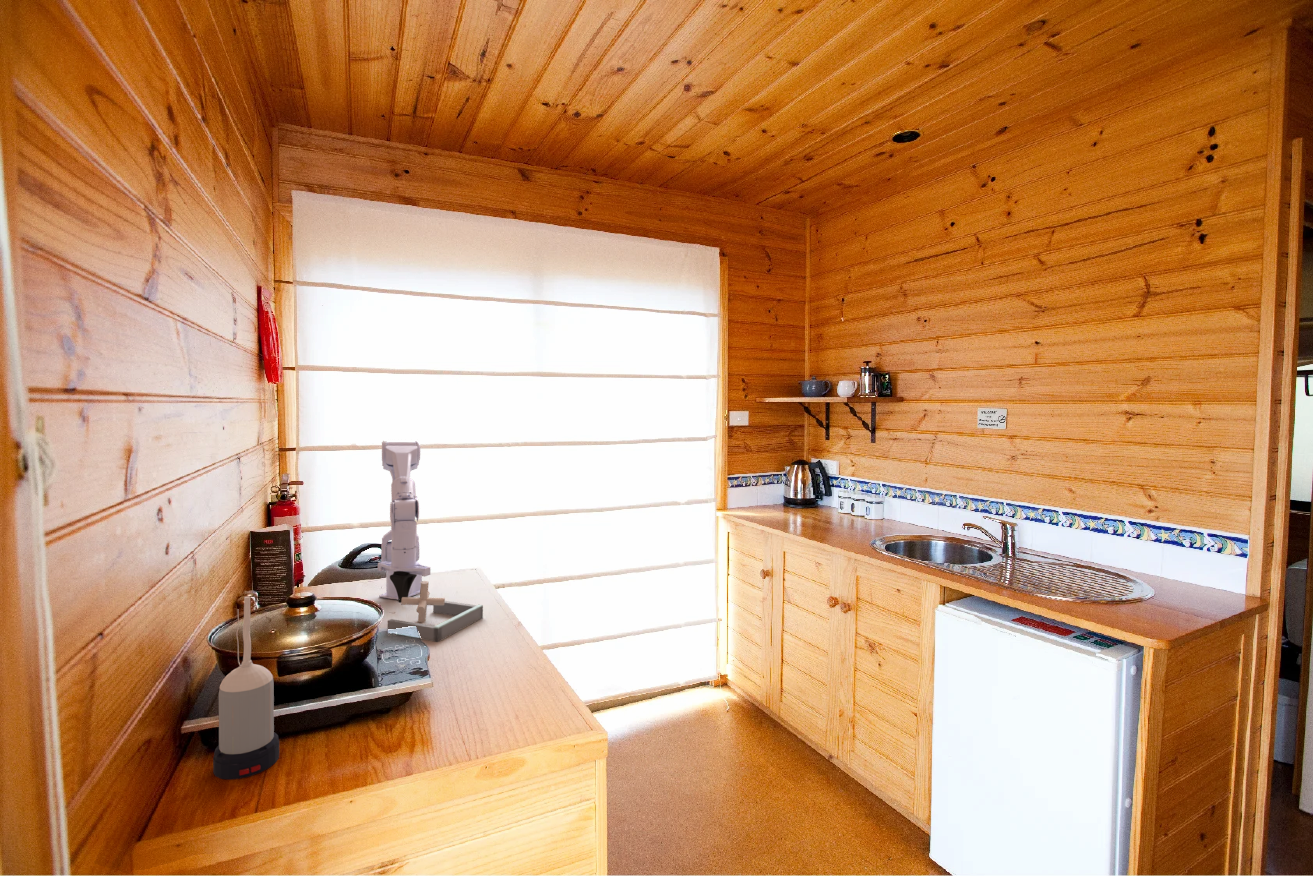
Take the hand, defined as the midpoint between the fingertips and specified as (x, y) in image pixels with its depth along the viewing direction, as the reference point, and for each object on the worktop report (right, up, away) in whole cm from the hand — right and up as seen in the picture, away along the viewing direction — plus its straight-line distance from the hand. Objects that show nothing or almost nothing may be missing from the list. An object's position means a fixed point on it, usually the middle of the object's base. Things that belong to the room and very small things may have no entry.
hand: (403, 601), depth 151 cm
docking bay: (+9, -5, -2) cm, 10 cm away
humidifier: (+2, -8, -61) cm, 62 cm away
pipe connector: (+4, -5, 0) cm, 7 cm away
